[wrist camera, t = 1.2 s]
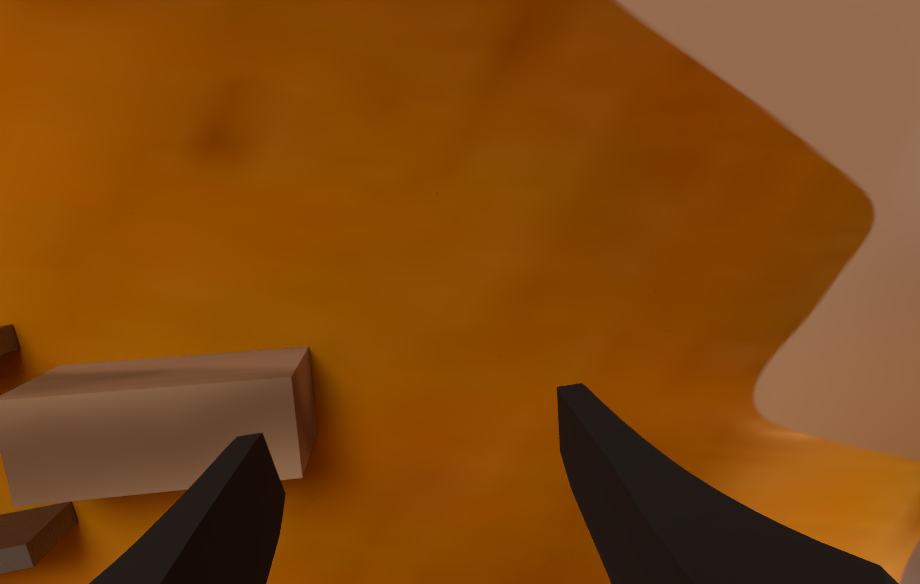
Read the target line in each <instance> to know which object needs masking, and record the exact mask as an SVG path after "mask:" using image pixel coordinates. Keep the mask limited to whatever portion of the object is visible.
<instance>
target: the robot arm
mask: <svg viewBox="0 0 920 584" xmlns="http://www.w3.org/2000/svg"><path fill="white" fill-rule="evenodd" d="M557 398H558V418H559V439H560V452H561V456H562V459H563V463H564V466H565V469H566V473H567V476H568V479H569V483H570V486H571V489H572V492H573V494H574V496H575V499H576V501H577V503H578V506H579V508H580V511H581V513H582V515H583V518H584V520H585V522H586V525H587V527H588V529H589V532H590V534H591V536H592V539H593V541H594V543H595V546H596V548H597V550H598V553H599V555H600V557H601V560H602V562H603V564H604V567H605V569H606V571H607V573H608V576H609V579H610V581H611V584H898V583H897V582H896V581H895V580H894V579H893V578H892V577H891V576H890V575H889V574H888V573H887V572H886V571H885V570H884V569H883V568H882V567H881V566H880V565H877V564H875V563H872V562H870V561H867V560H865V559H862V558H859V557H857V556H854V555H852V554H849V553H847V552H844V551H842V550H839V549H837V548H834V547H832V546H829V545H827V544H824V543H822V542H819V541H817V540H815V539H812V538H810V537H808V536H806V535H804V534H801V533H799V532H797V531H795V530H793V529H791V528H788V527H786V526H784V525H782V524H780V523H778V522H776V521H774V520H772V519H770V518H768V517H766V516H764V515H762V514H760V513H758V512H756V511H754V510H752V509H750V508H748V507H747V506H745V505H743V504H741V503H739V502H737V501H736V500H734V499H732V498H730V497H728V496H726V495H725V494H723V493H721V492H720V491H718V490H716V489H715V488H713V487H711V486H710V485H708V484H706V483H705V482H703V481H702V480H700V479H699V478H697V477H696V476H694V475H692V474H691V473H689V472H688V471H686V470H685V469H683V468H682V467H681V466H679V465H678V464H676V463H675V462H674V461H672V460H671V459H669V458H668V457H667V456H665V455H664V454H663V453H661V452H660V451H659V450H657V449H656V448H655V447H654V446H652V445H651V444H650V443H649V442H647V441H646V440H645V439H644V438H642V437H641V436H640V435H639V434H638V433H636V432H635V431H634V430H633V429H632V428H631V427H629V426H628V425H627V424H626V423H625V422H623V421H622V420H621V419H620V418H619V417H618V416H617V415H616V414H615V413H613V412H612V411H611V410H610V409H609V408H608V407H607V406H606V405H605V404H604V403H603V402H602V401H600V400H599V399H598V398H597V397H596V396H595V395H594V394H593V393H592V392H591V391H590V390H589V389H588V388H587V387H586V386H585V385H583V384H582V383H580V384H573V385H567V386H560V387H557ZM284 501H285V491H284V489H283V486H282V483H281V481H280V478H279V475H278V473H277V470H276V467H275V465H274V462H273V459H272V457H271V454H270V451H269V449H268V446H267V443H266V441H265V438H264V435H263V433H256V434H249V435H243V436H237V437H236V438H235V439H234V440H233V441H232V442H231V443H230V444H229V445H228V446H227V447H226V448H225V450H224V451H223V452H222V453H221V454H220V455H219V456H218V457H217V458H216V459H215V460H214V462H213V463H212V464H211V465H210V466H209V467H208V468H207V469H206V470H205V471H204V473H203V474H202V475H201V476H200V477H199V478H198V479H197V480H196V481H195V482H194V483H193V484H192V486H191V487H190V488H189V489H188V490H187V491H186V492H185V493H184V494H183V495H182V496H181V497H180V498H179V499H178V501H177V502H176V503H175V504H174V505H173V506H172V507H171V508H170V509H169V510H168V511H167V512H166V513H165V514H164V515H163V516H162V517H161V518H160V519H159V520H158V521H157V522H156V523H155V524H154V525H153V526H152V527H151V528H150V529H149V530H148V531H147V532H146V533H145V534H144V535H143V536H142V537H141V538H140V539H139V540H138V541H137V542H136V543H134V544H133V545H132V546H131V547H130V548H129V549H128V550H127V551H126V552H125V553H124V554H123V555H121V556H120V557H119V558H118V559H117V560H116V561H115V562H114V563H113V564H111V565H110V566H109V567H108V568H107V569H106V570H104V571H103V572H102V573H101V574H100V575H99V576H98V577H96V578H95V579H94V580H93V581H92V582H91V583H89V584H266V582H267V579H268V575H269V572H270V568H271V564H272V561H273V557H274V554H275V550H276V546H277V543H278V539H279V535H280V529H281V523H282V516H283V509H284Z"/></svg>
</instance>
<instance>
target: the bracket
mask: <svg viewBox="0 0 920 584" xmlns="http://www.w3.org/2000/svg"><path fill="white" fill-rule="evenodd" d="M18 348H20V347H19V344H18V341H17V338H16V335H15V332H14V329H13V326H12V324H11V325H5V326H0V356H1V355H4V354H6V353H9V352H11V351H14V350H16V349H18ZM77 522H78V521H77V518H76V515H75V512H74V509H73V506H72V503H71V502H66V503H61V504H56V505H50V506H45V507H40V508H35V509H30V510H24V511H19V512H14V513H9V514H3V515H0V574H2V573H7V572H12V571H17V570H22V569H27V568H32V567H34V566H35V565H36V564H37V563H38V562H39V561H40V560H41V559H42V558H43V557H44V556H45V555H46V554H47V553H48V552H49V551H50V550H51V549H52V548H53V547H54V546H55V545H56V544H57V543H58V542H59V541H60V540H61V539H62V538H63V537H64V536H65V535H66V534H67V532H68V531H69V530H70V529H71V528H72V527H73V526H74V525H75V524H76V523H77Z"/></svg>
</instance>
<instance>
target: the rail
mask: <svg viewBox="0 0 920 584" xmlns="http://www.w3.org/2000/svg"><path fill="white" fill-rule="evenodd" d="M256 433H263V435H264V438H265V441H266V443H267V446H268V449H269V451H270V454H271V457H272V459H273V462H274V465H275V467H276V470H277V473H278V475H279V478H280V480H288V479H298V478H303V475H304V472H305V469H306V466H307V463H308V460H309V457H310V454H311V451H312V448H313V445H314V442H315V439H316V436H317V433H318V432H317V422H316V412H315V403H314V393H313V383H312V373H311V364H310V354H309V347H298V348H284V349H271V350H257V351H244V352H230V353H217V354H203V355H190V356H177V357H163V358H150V359H136V360H123V361H109V362H96V363H82V364H69V365H59V366H57V367H55V368H53V369H51V370H49V371H47V372H45V373H44V374H42V375H40V376H38V377H36V378H34V379H32V380H30V381H28V382H26V383H24V384H22V385H20V386H18V387H16V388H14V389H12V390H10V391H8V392H6V393H4V394H2V395H0V450H1V454H2V459H3V463H4V467H5V472H6V476H7V480H8V485H9V489H10V493H11V498H12V502H13V506H14V507H20V506H30V505H39V504H49V503H59V502H69V501H79V500H89V499H99V498H109V497H119V496H129V495H139V494H149V493H159V492H169V491H179V490H188V489H189V488H190V487H191V486H192V484H193V483H194V482H195V481H196V480H197V479H198V478H199V477H200V476H201V475H202V474H203V473H204V471H205V470H206V469H207V468H208V467H209V466H210V465H211V464H212V463H213V462H214V460H215V459H216V458H217V457H218V456H219V455H220V454H221V453H222V452H223V451H224V450H225V448H226V447H227V446H228V445H229V444H230V443H231V442H232V441H233V440H234V439H235V438H236V437H237V436H243V435H249V434H256Z"/></svg>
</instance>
